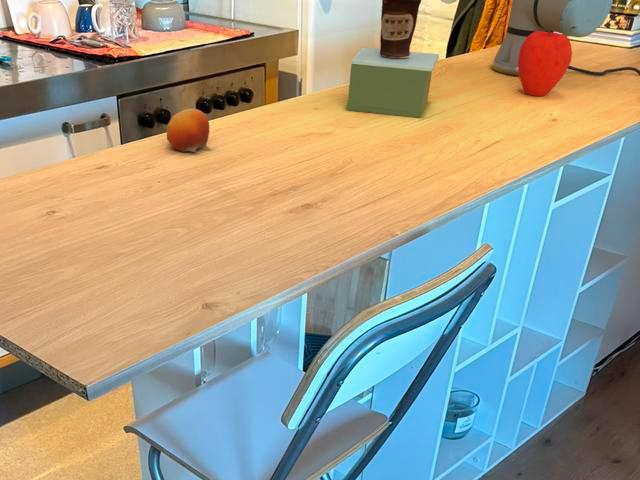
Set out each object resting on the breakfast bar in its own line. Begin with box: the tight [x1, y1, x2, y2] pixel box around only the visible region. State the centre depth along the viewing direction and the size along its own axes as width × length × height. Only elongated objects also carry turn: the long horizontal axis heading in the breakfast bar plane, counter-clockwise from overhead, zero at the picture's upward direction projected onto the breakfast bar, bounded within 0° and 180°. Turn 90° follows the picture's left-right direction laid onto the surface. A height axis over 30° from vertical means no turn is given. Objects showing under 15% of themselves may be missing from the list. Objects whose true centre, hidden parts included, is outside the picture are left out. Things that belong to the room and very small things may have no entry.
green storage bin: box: [346, 63, 433, 119], centre depth 178 cm, size 16×14×9 cm
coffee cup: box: [379, 0, 422, 58], centre depth 171 cm, size 9×8×13 cm
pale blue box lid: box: [351, 46, 440, 72], centre depth 175 cm, size 17×14×1 cm
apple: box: [518, 30, 573, 97], centre depth 189 cm, size 12×12×13 cm
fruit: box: [166, 108, 210, 153], centre depth 151 cm, size 8×8×8 cm
